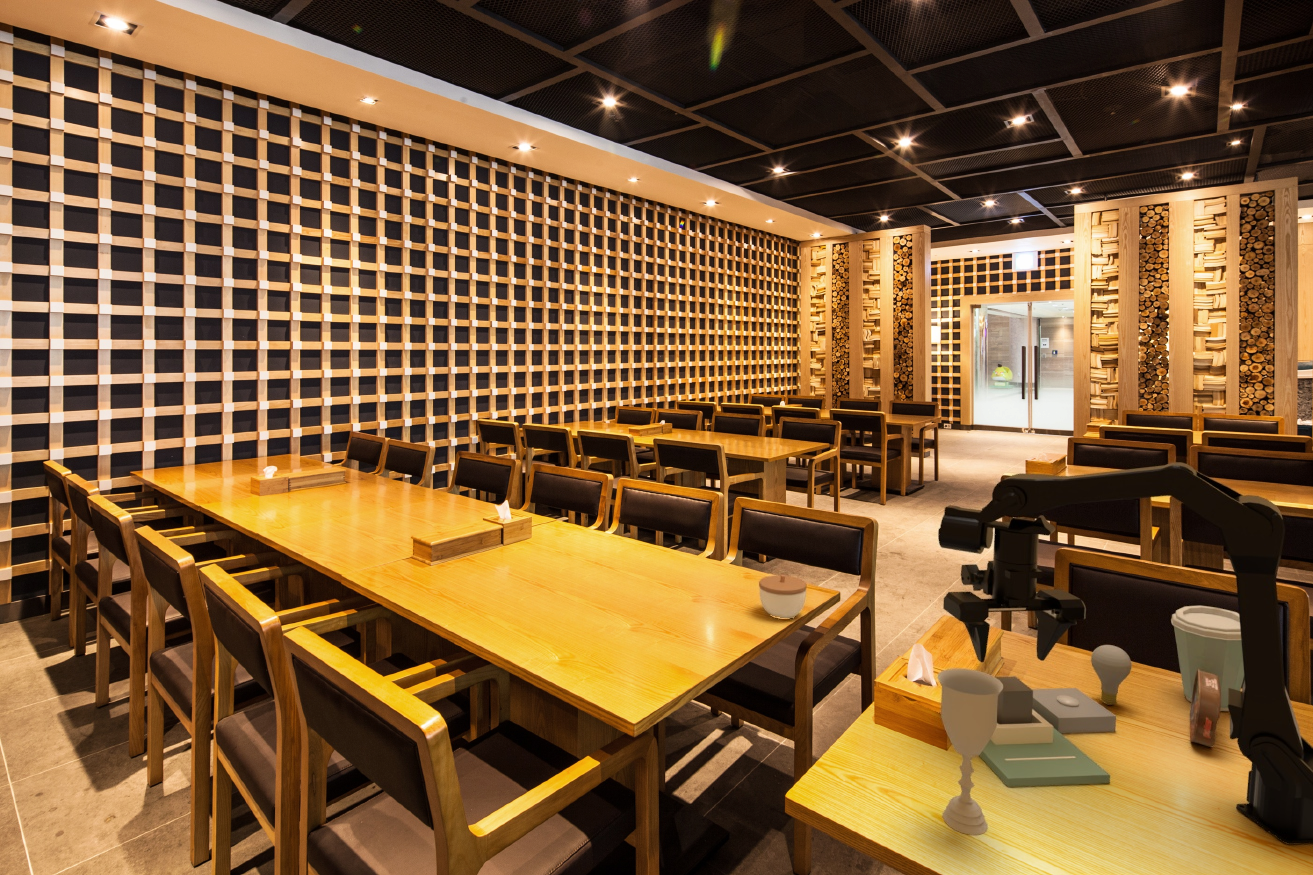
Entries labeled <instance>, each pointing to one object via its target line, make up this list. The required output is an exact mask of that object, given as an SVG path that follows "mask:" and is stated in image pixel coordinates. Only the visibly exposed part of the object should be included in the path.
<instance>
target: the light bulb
mask: <svg viewBox="0 0 1313 875" xmlns="http://www.w3.org/2000/svg"><path fill="white" fill-rule="evenodd" d="M1090 657H1091V658H1090V661H1091V666H1092V668H1093V670H1094V672H1095V673H1096V676H1098V679H1099V681H1100V684H1101V687H1100V690H1101V692H1100V693H1101V694H1100V696H1101V697H1100V700H1101V702H1103V703H1104V704H1105V705H1107V706H1111V705H1115V704H1117V702H1118V701H1117V700H1118V699H1117V697H1118V693H1119V687H1120V685H1121V684H1122V682H1124V681H1125V680H1126V678H1127V677H1128V676H1129V675H1130V673H1131V670H1132V661H1131V658H1130V656H1129V654H1128V653H1127V652H1126V651H1125V650H1123V649H1122V648H1120V647H1119V646H1115V645H1111V644H1103V645H1100V646H1097V647H1096V648H1095V649H1094V650H1093V652H1092V653H1091V656H1090Z"/></svg>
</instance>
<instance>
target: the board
mask: <svg viewBox="0 0 1313 875" xmlns="http://www.w3.org/2000/svg"><path fill="white" fill-rule="evenodd" d="M978 757H980V759H981V760H983V761H984V763H985V764H986V765H987V766H988V767H989V768H990V770H991V771H992V772H994V774H995V775H996V776H997V778H999V779H1000V780H1001V782H1003V783H1004V784H1005V786H1006V787H1007V788H1014V787H1015V788H1016V787H1017V788H1019V787H1021V788H1022V787H1039V786H1040V787H1046V786H1070V785H1071V786H1072V785H1095V784H1096V785H1097V784H1101V785H1102V784H1110V783H1111V774H1110V773H1109V772H1108V771H1106V770H1105V769H1104V768H1103V767H1101V766H1100V765H1099V764H1098V763H1097V762H1096V761H1094V760H1093V759H1092V758H1090V756H1088V755H1087V754H1086V753H1085V752H1084V751H1082V750H1081V749H1080V748H1079V747H1077V746H1076V744H1074V743H1073V742H1072V741H1071V740H1069V739H1068V738H1067V737H1066V736H1064V735H1063V733H1062V734H1061V733H1059V732H1058V731H1057V730H1056V729H1055V728H1053V726H1052V725H1051V724H1050V723H1049V722H1047V721H1046V720H1045V719H1044V718H1043V717H1041V716H1040V715H1039V714H1038V713H1037V712H1035V711H1034V710H1033V709H1032V723H1028V724H998V723H997V726H996V729H995V731H994V733H993V735H992V737H991V739H990V741H989V742H988V743H987V745H986V746H985V748H984V749H983V751H982V752H981V754H980V755H979V756H978Z"/></svg>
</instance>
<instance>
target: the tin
mask: <svg viewBox="0 0 1313 875" xmlns="http://www.w3.org/2000/svg"><path fill="white" fill-rule="evenodd" d="M1220 710H1221V689H1220V682H1219V677H1218V676H1217V675H1214V674H1211V673H1207V672H1204V671H1200V670H1199V669H1198V670H1197V672H1196V676H1195V681H1194V686H1193V693H1192V701H1191V702H1190V708H1189V742H1191V743H1196V744H1199V745H1203V746H1206V747H1209V748H1213V747H1214V746H1215V744H1216V740H1217V737H1216V731H1217V725H1218V722H1219V719H1220V716H1221V711H1220Z"/></svg>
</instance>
